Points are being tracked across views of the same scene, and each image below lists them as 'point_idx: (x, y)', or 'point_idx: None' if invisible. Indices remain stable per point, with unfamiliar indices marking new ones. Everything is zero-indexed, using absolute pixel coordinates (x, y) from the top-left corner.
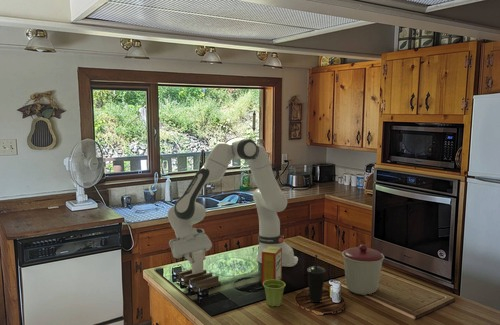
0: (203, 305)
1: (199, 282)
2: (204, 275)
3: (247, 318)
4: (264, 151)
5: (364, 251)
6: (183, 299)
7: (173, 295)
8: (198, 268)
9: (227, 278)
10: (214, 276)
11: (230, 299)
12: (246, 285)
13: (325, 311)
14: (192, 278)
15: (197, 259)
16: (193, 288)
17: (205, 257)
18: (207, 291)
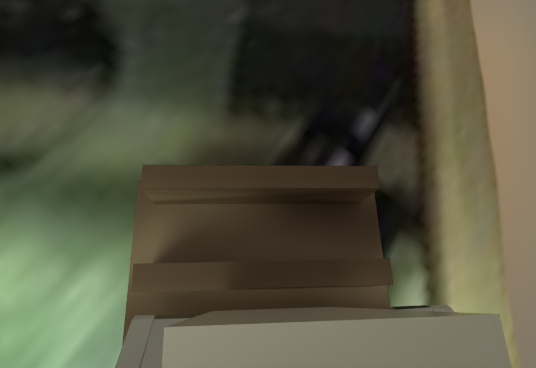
0: (396, 45)
1: (350, 167)
2: (234, 262)
3: None
4: None
5: None
6: (462, 168)
7: (499, 260)
8: (286, 309)
9: (10, 253)
10: (180, 178)
11: (245, 6)
12: (28, 69)
13: None
14: (365, 273)
15: (331, 312)
16: (371, 214)
17: (136, 323)
18: (285, 163)
